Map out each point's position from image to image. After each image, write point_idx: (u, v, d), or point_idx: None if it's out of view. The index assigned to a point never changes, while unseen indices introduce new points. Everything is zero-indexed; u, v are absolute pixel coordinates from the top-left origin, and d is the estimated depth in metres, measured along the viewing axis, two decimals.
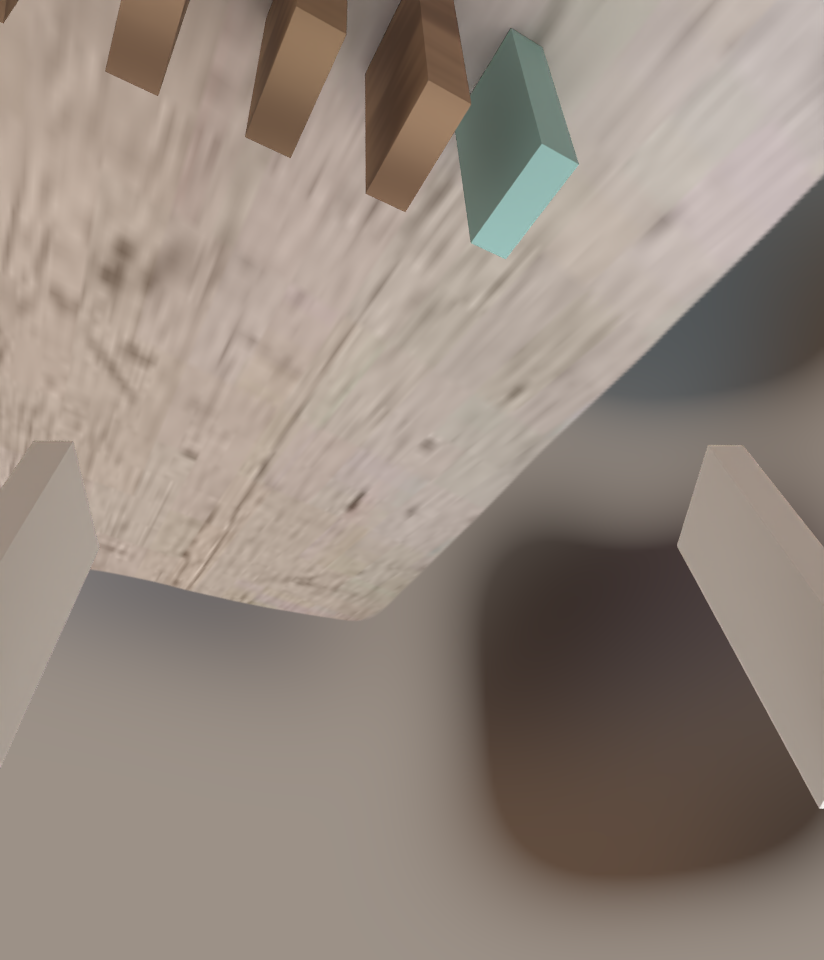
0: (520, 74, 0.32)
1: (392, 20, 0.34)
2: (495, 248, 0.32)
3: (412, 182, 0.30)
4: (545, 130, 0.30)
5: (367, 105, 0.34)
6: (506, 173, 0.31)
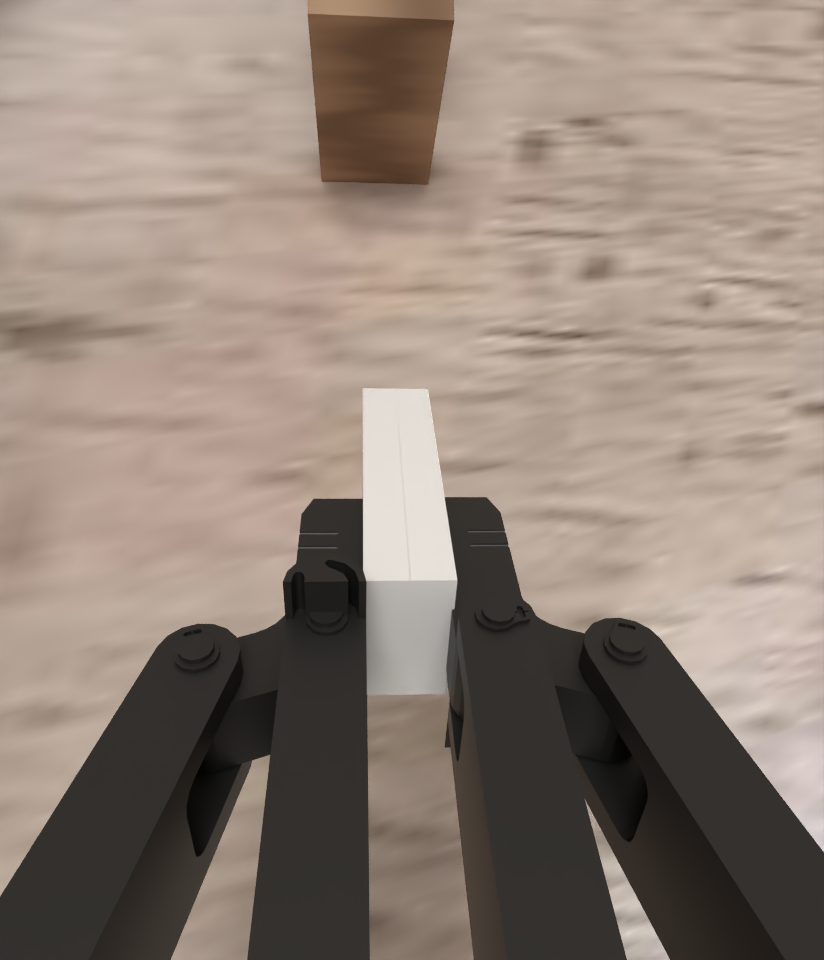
0: None
1: None
2: None
3: None
4: None
5: None
6: None
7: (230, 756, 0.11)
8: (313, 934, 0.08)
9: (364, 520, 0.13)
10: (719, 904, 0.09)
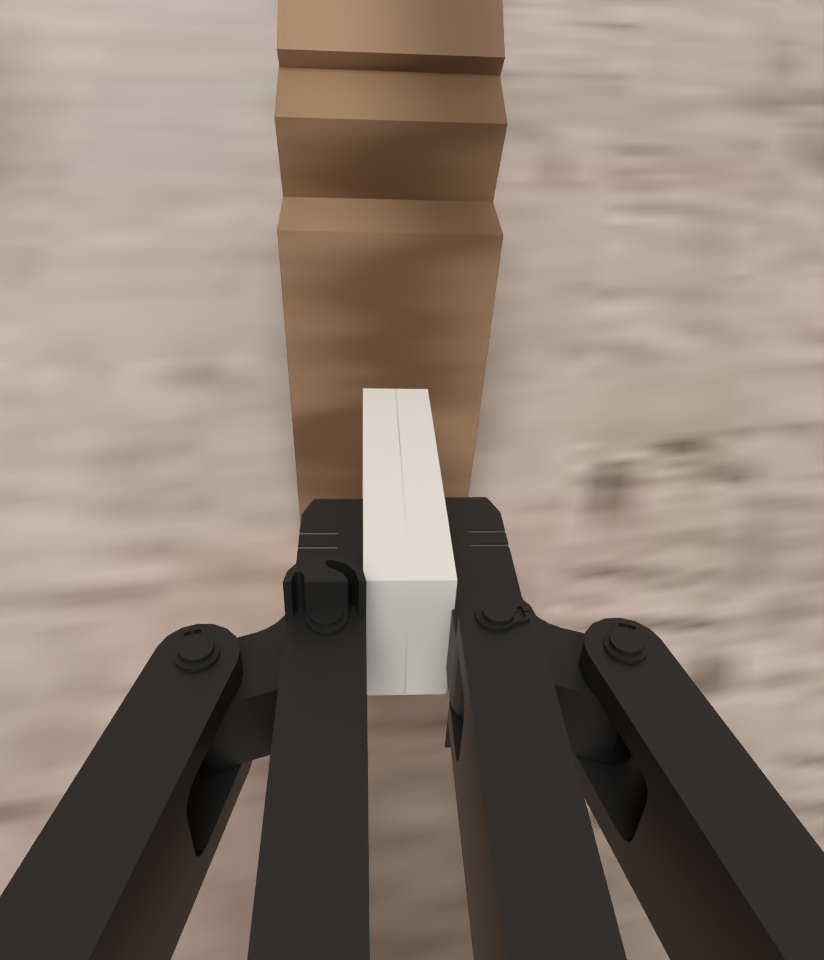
0: None
1: None
2: None
3: None
4: None
5: None
6: None
7: (230, 756, 0.11)
8: (313, 934, 0.08)
9: (364, 520, 0.13)
10: (718, 903, 0.09)
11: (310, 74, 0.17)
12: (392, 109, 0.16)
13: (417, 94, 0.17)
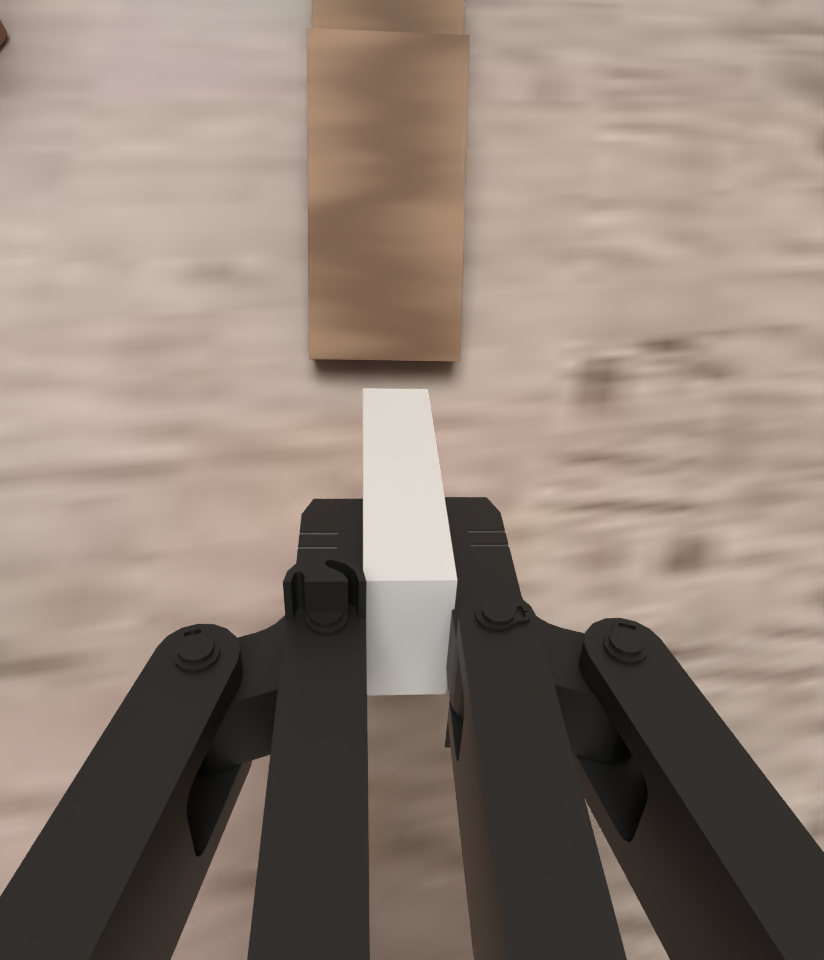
0: None
1: None
2: None
3: None
4: None
5: None
6: None
7: (230, 756, 0.11)
8: (314, 934, 0.08)
9: (364, 520, 0.13)
10: (719, 902, 0.09)
11: None
12: None
13: None
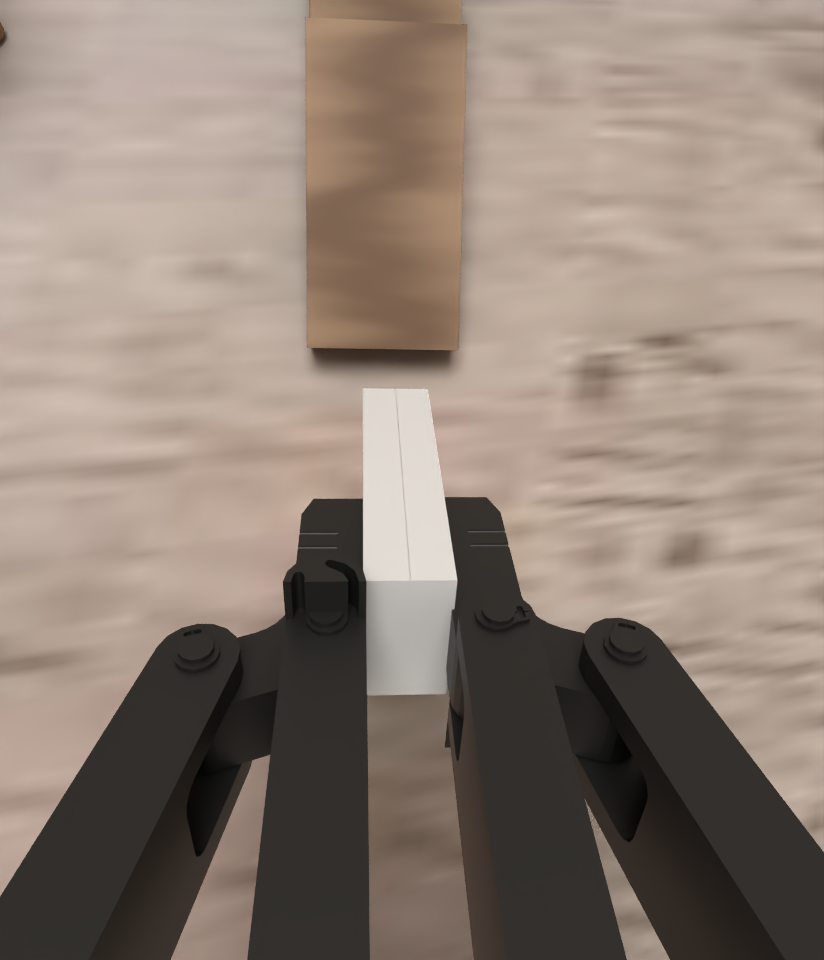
0: None
1: None
2: None
3: None
4: None
5: None
6: None
7: (230, 756, 0.11)
8: (313, 934, 0.08)
9: (364, 520, 0.13)
10: (719, 904, 0.09)
11: None
12: None
13: None
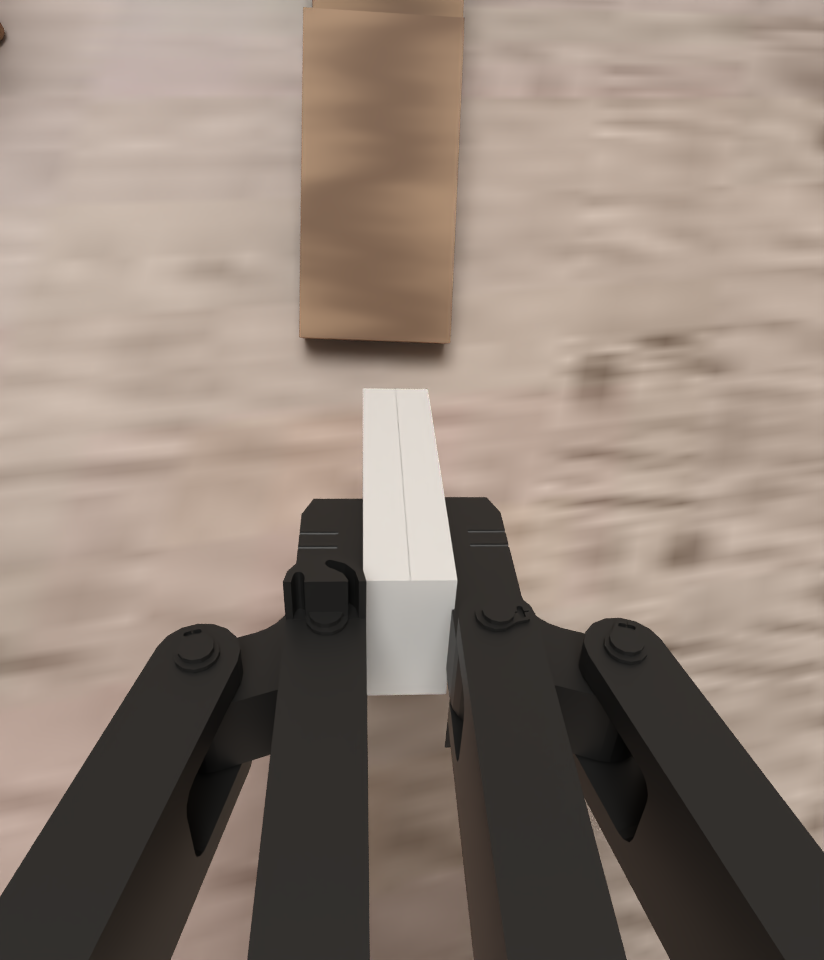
0: None
1: None
2: None
3: None
4: None
5: None
6: None
7: (230, 756, 0.11)
8: (313, 934, 0.08)
9: (364, 520, 0.13)
10: (719, 904, 0.09)
11: None
12: None
13: None
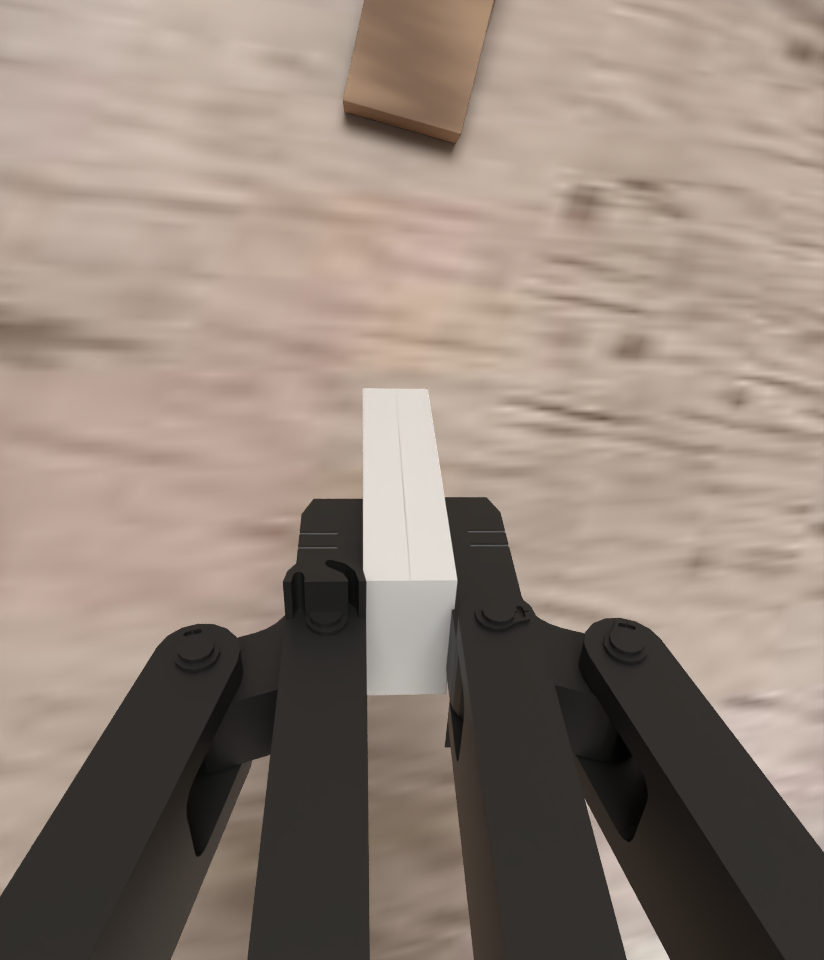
0: None
1: None
2: None
3: None
4: None
5: None
6: None
7: (230, 756, 0.11)
8: (313, 934, 0.08)
9: (364, 520, 0.13)
10: (718, 903, 0.09)
11: None
12: None
13: None
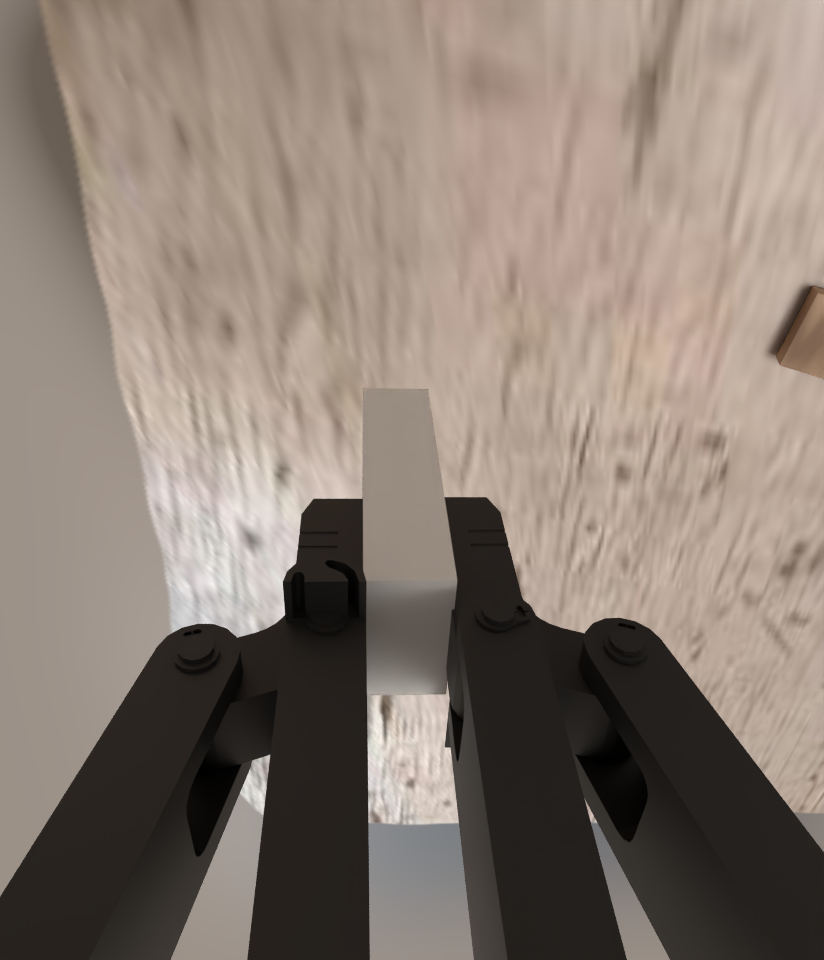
0: None
1: None
2: None
3: None
4: None
5: None
6: None
7: (230, 756, 0.11)
8: (313, 934, 0.08)
9: (364, 520, 0.13)
10: (719, 904, 0.09)
11: None
12: None
13: None
